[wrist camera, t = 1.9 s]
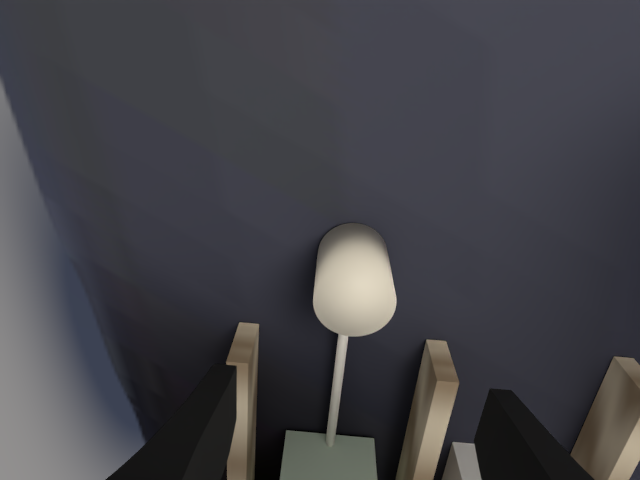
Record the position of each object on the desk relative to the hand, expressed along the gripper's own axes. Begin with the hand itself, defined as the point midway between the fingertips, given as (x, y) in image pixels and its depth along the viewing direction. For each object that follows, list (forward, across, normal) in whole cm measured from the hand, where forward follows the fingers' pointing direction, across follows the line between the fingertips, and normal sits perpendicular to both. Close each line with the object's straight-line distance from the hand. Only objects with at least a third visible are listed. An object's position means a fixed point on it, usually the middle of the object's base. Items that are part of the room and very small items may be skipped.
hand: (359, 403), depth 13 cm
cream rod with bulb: (+9, 0, +7) cm, 12 cm away
